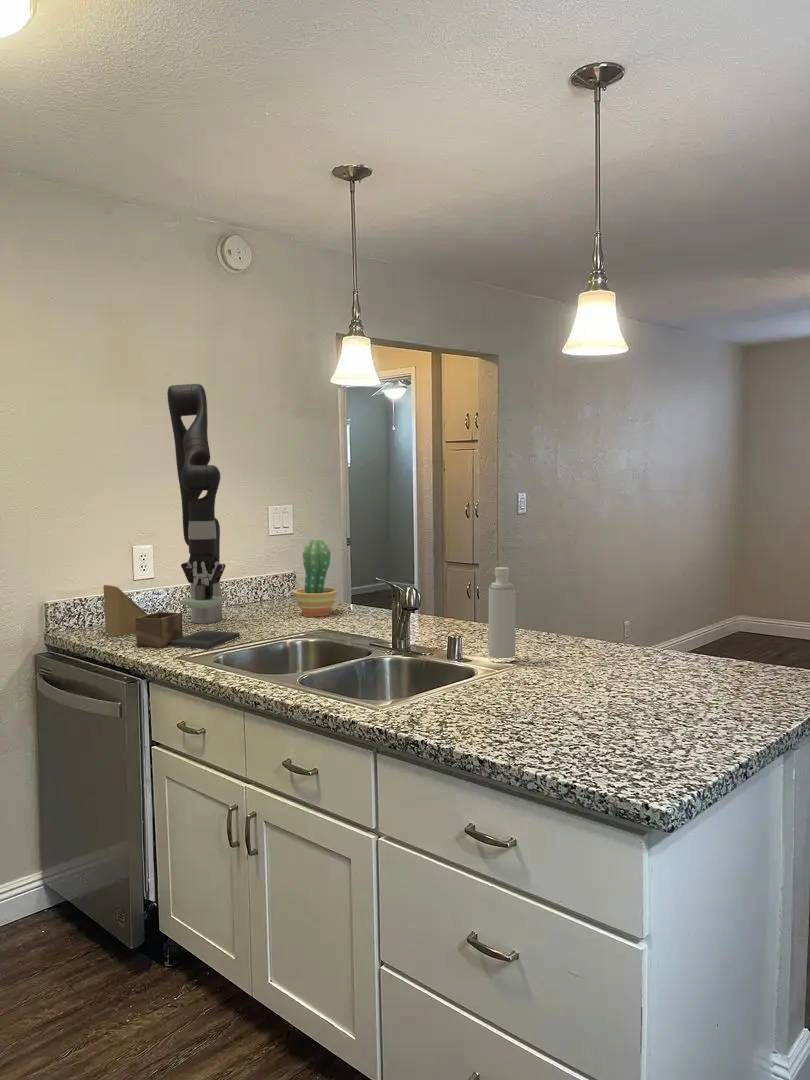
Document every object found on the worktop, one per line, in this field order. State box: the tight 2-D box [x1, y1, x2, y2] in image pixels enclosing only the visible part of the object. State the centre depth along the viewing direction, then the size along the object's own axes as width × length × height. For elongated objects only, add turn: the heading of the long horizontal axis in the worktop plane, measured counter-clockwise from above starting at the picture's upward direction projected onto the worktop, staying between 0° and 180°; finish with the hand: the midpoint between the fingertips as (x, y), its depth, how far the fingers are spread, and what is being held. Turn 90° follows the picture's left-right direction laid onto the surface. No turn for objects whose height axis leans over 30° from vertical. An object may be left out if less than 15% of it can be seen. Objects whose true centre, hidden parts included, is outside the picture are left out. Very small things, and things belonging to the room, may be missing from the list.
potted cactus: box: [292, 539, 339, 617], centre depth 271 cm, size 15×15×25 cm
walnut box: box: [135, 611, 184, 649], centre depth 228 cm, size 10×8×8 cm
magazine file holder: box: [103, 584, 148, 637], centre depth 246 cm, size 9×15×15 cm, turn 137°
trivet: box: [170, 629, 240, 650], centre depth 230 cm, size 16×12×2 cm
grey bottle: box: [488, 566, 517, 658], centre depth 205 cm, size 7×7×25 cm
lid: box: [179, 584, 229, 609], centre depth 229 cm, size 11×9×6 cm
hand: (204, 598), depth 229 cm, fingers closed on lid, 2 cm apart
